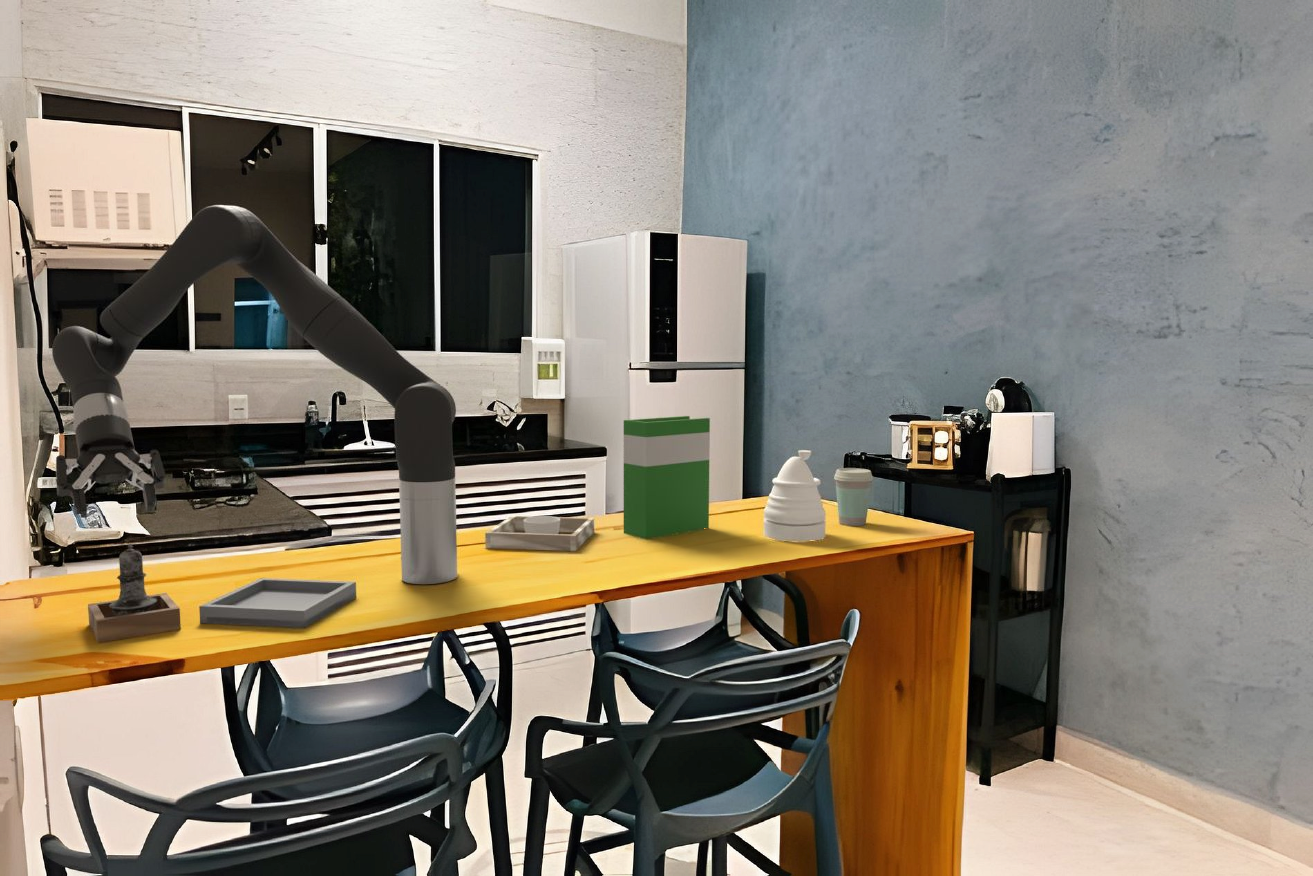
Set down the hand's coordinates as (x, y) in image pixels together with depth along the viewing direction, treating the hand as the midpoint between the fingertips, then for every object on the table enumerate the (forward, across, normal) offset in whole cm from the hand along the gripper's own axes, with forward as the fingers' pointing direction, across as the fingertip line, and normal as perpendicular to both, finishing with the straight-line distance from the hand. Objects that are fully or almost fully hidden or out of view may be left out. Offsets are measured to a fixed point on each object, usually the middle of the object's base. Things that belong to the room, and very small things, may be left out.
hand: (117, 511), depth 139 cm
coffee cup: (+25, +140, -4) cm, 142 cm away
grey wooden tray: (+7, +76, +14) cm, 77 cm away
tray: (+21, +19, 0) cm, 28 cm away
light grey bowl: (+8, +75, +14) cm, 77 cm away
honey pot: (+26, +120, -5) cm, 123 cm away
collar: (+18, 0, +3) cm, 18 cm away
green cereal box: (+12, +102, +9) cm, 103 cm away
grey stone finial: (+18, 0, +3) cm, 19 cm away
